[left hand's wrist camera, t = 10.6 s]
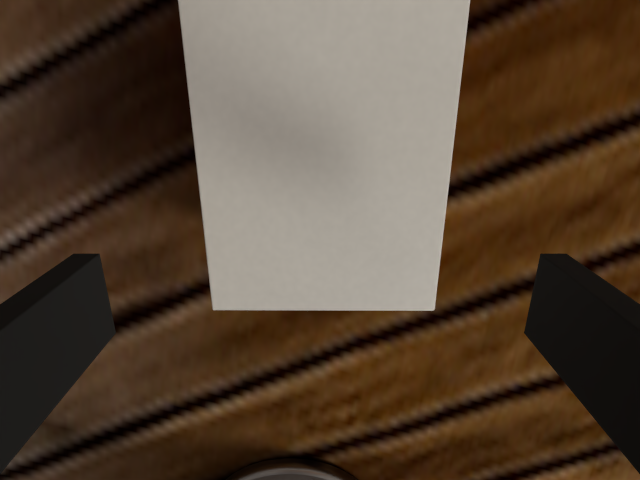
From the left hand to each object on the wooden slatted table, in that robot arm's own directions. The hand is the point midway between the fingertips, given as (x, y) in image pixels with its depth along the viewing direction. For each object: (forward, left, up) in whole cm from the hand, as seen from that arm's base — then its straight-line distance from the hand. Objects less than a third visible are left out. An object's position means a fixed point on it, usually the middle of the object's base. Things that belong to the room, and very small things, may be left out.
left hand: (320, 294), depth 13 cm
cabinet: (+2, +4, -14) cm, 15 cm away
